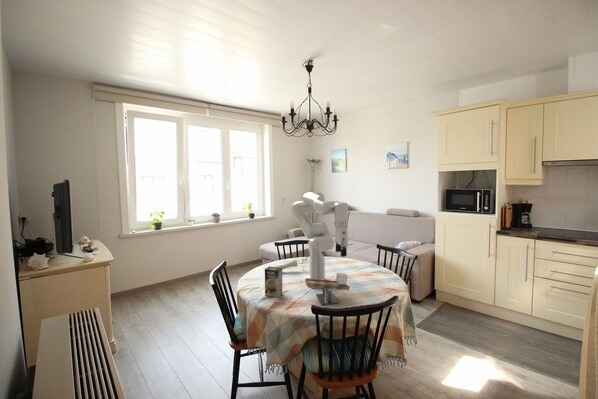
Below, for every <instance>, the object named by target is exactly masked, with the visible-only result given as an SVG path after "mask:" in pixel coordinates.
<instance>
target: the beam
mask: <svg viewBox="0 0 598 399" xmlns="http://www.w3.org/2000/svg"><path fill="white" fill-rule="evenodd" d="M304 283H305V284H306V286H307V288H311V287H314V288H313V289H315V288H320V289H323V288H327V286H329V285H331V290H341V291H350V286H349V285H348V284H347V283H346V286H342V285H337V284H336V280H328V279H327V280H318V279H306V280H305V281H304Z"/></svg>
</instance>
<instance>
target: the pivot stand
mask: <svg viewBox="0 0 598 399" xmlns="http://www.w3.org/2000/svg"><path fill="white" fill-rule="evenodd" d="M323 280H328V279H327V278H326V279H323ZM315 296H316V298H317V301H318V302H319V304H320V306H329V305H330V306H331V305H339V304H340V303H339V301H338V299H337V297H336V296H335V295H334V293H333V292H332V289H331V285H329V286H327V288H322V293H316V294H315Z"/></svg>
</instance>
